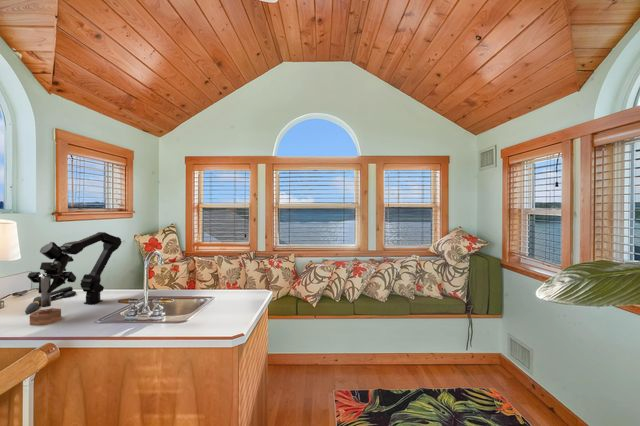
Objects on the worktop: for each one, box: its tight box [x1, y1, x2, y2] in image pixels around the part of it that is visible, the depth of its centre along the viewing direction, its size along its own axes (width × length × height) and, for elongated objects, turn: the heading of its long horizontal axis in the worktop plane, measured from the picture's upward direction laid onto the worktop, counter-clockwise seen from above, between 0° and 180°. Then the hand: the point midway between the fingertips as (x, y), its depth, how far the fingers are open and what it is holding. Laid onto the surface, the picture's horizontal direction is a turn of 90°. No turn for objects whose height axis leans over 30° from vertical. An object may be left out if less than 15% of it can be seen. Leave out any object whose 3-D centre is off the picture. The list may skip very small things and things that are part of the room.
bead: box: [29, 307, 62, 326], centre depth 155 cm, size 11×11×4 cm
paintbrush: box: [24, 295, 41, 314], centre depth 172 cm, size 20×5×5 cm, turn 27°
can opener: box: [51, 286, 77, 301], centre depth 189 cm, size 18×7×6 cm, turn 160°
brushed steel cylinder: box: [40, 276, 52, 308], centre depth 155 cm, size 4×4×14 cm
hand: (43, 292), depth 153 cm, fingers closed on brushed steel cylinder, 3 cm apart
